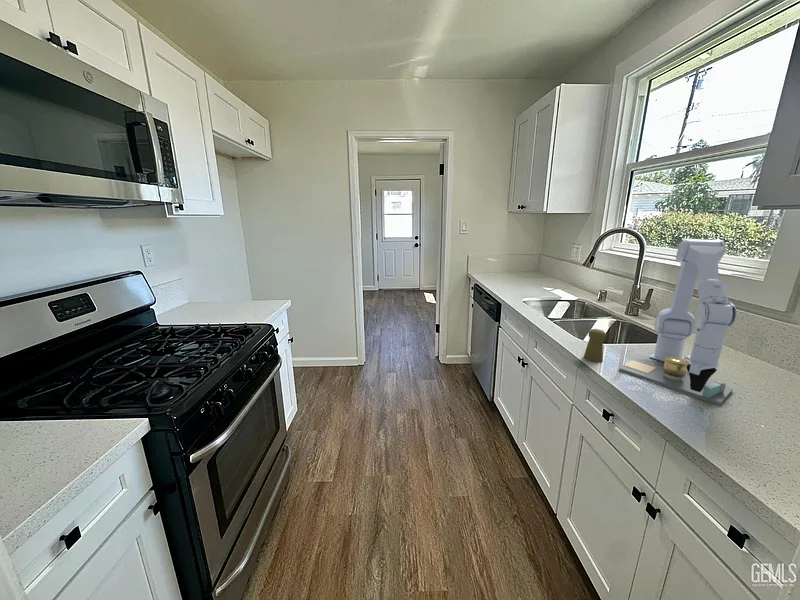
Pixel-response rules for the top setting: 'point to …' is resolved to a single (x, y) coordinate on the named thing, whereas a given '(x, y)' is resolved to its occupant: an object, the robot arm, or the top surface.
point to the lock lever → (714, 389)
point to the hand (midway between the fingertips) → (695, 390)
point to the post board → (670, 380)
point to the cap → (675, 366)
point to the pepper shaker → (595, 346)
